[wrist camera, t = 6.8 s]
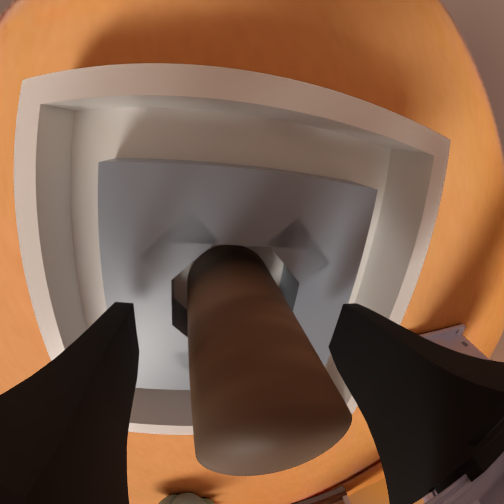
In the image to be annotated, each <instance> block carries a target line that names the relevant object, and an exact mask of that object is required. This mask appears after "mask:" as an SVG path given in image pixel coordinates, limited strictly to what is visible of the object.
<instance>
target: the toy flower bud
mask: <svg viewBox="0 0 504 504" xmlns="http://www.w3.org/2000/svg"><path fill="white" fill-rule="evenodd" d="M159 504H215V503H214V502H213V501H212V500H210V499H207V498H200V497H199V496H197V495H196V494H193V493H182V494H180V495H177V494H173V495H169V496H167V497H165V498H164V499H163V500H162V501H160V503H159Z"/></svg>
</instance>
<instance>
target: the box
mask: <svg viewBox="0 0 504 504" xmlns="http://www.w3.org/2000/svg"><path fill="white" fill-rule="evenodd" d="M449 148H450V139H448V138H446V137H444V136H443V135H441V134H439V133H437V132H435V131H433V130H431V129H429V128H427V127H425V126H423V125H421V124H419V123H417V122H415V121H413V120H411V119H408V118H406V117H404V116H402V115H399V114H397V113H395V112H392V111H390V110H388V109H385V108H383V107H380V106H378V105H375V104H372V103H370V102H367V101H364V100H362V99H359V98H356V97H353V96H350V95H347V94H344V93H341V92H338V91H335V90H331V89H328V88H324V87H321V86H317V85H314V84H310V83H306V82H302V81H298V80H294V79H289V78H285V77H280V76H275V75H270V74H265V73H260V72H254V71H248V70H241V69H234V68H226V67H217V66H207V65H194V64H174V63H136V64H116V65H104V66H94V67H86V68H78V69H72V70H66V71H60V72H54V73H49V74H45V75H40V76H36V77H32V78H28V79H24V80H23V81H22V86H21V92H20V98H19V105H18V112H17V121H16V131H15V146H14V196H15V211H16V222H17V230H18V238H19V245H20V251H21V257H22V263H23V268H24V273H25V277H26V282H27V286H28V290H29V294H30V298H31V302H32V306H33V309H34V313H35V316H36V319H37V323H38V326H39V329H40V332H41V335H42V338H43V340H44V343H45V346H46V349H47V351H48V354H49V356H50V359H51V361H52V360H53V359H55V358H56V357H57V356H58V355H59V354H61V353H62V352H63V351H64V350H65V349H66V348H67V347H68V346H70V345H71V344H72V343H73V342H74V341H75V340H76V339H77V338H79V337H80V336H81V335H82V334H83V333H84V332H85V331H86V330H87V329H88V328H89V327H90V326H91V325H92V324H93V323H94V322H95V321H96V320H97V319H98V318H99V317H100V316H101V315H102V314H103V313H104V312H105V311H106V310H107V309H108V308H109V307H110V306H111V305H112V304H114V303H115V302H126V303H133V304H134V313H135V322H136V330H137V338H138V345H139V351H140V352H139V364H138V376H137V383H136V388H135V393H134V399H133V404H132V410H131V416H130V422H129V429H128V432H138V433H150V434H169V435H194V434H193V423H192V411H191V396H190V379H189V357H188V318H187V281H188V274H189V271H190V269H191V266H192V265H193V263H194V262H195V260H196V259H197V258H198V257H199V256H200V255H201V254H203V253H204V252H205V251H207V250H209V249H211V248H213V247H216V246H220V245H240V246H244V247H247V248H249V249H251V250H252V251H254V252H255V253H257V254H258V255H259V256H260V258H261V259H262V260H263V262H264V263H265V265H266V267H267V269H268V270H269V272H270V274H271V275H272V277H273V279H274V281H275V282H276V284H277V286H278V287H279V289H280V291H281V293H282V294H283V296H284V298H285V299H286V301H287V303H288V305H289V306H290V308H291V310H292V311H293V313H294V315H295V317H296V318H297V320H298V322H299V323H300V325H301V327H302V329H303V330H304V332H305V334H306V335H307V337H308V339H309V341H310V342H311V344H312V346H313V348H314V349H315V351H316V353H317V354H318V356H319V358H320V360H321V361H322V363H323V365H324V367H325V368H326V370H327V372H328V373H329V375H330V377H331V379H332V380H333V382H334V384H335V386H336V387H337V389H338V391H339V393H340V394H341V396H342V398H343V399H344V401H345V403H346V405H347V406H348V408H349V410H350V412H351V414H352V413H353V412H354V411H355V409H356V407H357V406H358V405H357V403H356V402H355V400H354V398H353V396H352V395H351V393H350V391H349V389H348V388H347V386H346V384H345V383H344V381H343V379H342V377H341V375H340V374H339V372H338V370H337V368H336V366H335V363H334V361H333V358H332V355H331V353H330V350H329V347H328V346H329V344H330V341H331V338H332V335H333V333H334V330H335V327H336V324H337V321H338V318H339V315H340V312H341V309H342V306H343V304H351V303H357V304H360V305H362V306H364V307H367V308H369V309H371V310H373V311H375V312H377V313H378V314H380V315H382V316H384V317H386V318H388V319H390V320H391V321H393V322H395V323H397V324H399V325H400V324H401V321H402V319H403V317H404V314H405V312H406V309H407V307H408V305H409V302H410V299H411V297H412V294H413V292H414V289H415V286H416V284H417V281H418V278H419V275H420V272H421V269H422V266H423V263H424V260H425V257H426V254H427V250H428V247H429V244H430V240H431V237H432V233H433V229H434V226H435V222H436V218H437V214H438V209H439V205H440V201H441V196H442V191H443V186H444V181H445V175H446V169H447V163H448V156H449Z"/></svg>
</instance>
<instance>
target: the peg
mask: <svg viewBox="0 0 504 504" xmlns="http://www.w3.org/2000/svg"><path fill="white" fill-rule="evenodd" d="M187 318H188V357H189V379H190V396H191V411H192V423H193V434H194V444H195V454H196V458H197V460H198V462H199V463H200V464H201V465H202V466H204V467H205V468H207V469H209V470H211V471H214V472H217V473H221V474H226V475H234V476H255V475H264V474H270V473H275V472H279V471H283V470H286V469H290V468H293V467H296V466H298V465H301V464H303V463H306V462H308V461H310V460H312V459H314V458H316V457H317V456H319V455H321V454H323V453H324V452H326V451H327V450H329V449H330V448H331V447H333V446H334V445H335V444H336V443H337V442H338V441H339V440H340V439H341V438H342V437H343V436H344V435H345V434H346V432H347V431H348V429H349V427H350V425H351V422H352V414H351V412H350V410H349V408H348V406H347V405H346V403H345V401H344V399H343V398H342V396H341V394H340V393H339V391H338V389H337V387H336V386H335V384H334V382H333V380H332V379H331V377H330V375H329V373H328V372H327V370H326V368H325V367H324V365H323V363H322V361H321V360H320V358H319V356H318V354H317V353H316V351H315V349H314V348H313V346H312V344H311V342H310V341H309V339H308V337H307V335H306V334H305V332H304V330H303V329H302V327H301V325H300V323H299V322H298V320H297V318H296V317H295V315H294V313H293V311H292V310H291V308H290V306H289V305H288V303H287V301H286V299H285V298H284V296H283V294H282V293H281V291H280V289H279V287H278V286H277V284H276V282H275V281H274V279H273V277H272V275H271V274H270V272H269V270H268V269H267V267H266V265H265V263H264V262H263V260H262V259H261V258H260V256H259V255H258V254H257V253H255V252H254V251H252V250H251V249H249V248H247V247H244V246H240V245H220V246H216V247H213V248H211V249H209V250H207V251H205V252H204V253H203V254H201V255H200V256H199V257H198V258H197V259H196V260H195V262H194V263H193V265H192V266H191V269H190V271H189V274H188V281H187Z"/></svg>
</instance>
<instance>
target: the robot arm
mask: <svg viewBox="0 0 504 504" xmlns="http://www.w3.org/2000/svg"><path fill="white" fill-rule="evenodd" d="M464 330H465V325H464V324H460V325H456V326H453V327H449V328H445V329H441V330H437V331H433V332H429V333H425V334H421V335H418V334H416V333H414V332H412V331H410V330H408V329H406V328H404V327H402V326H401V325H399V324H397V323H395V322H393V321H391V320H390V319H388V318H386V317H384V316H382V315H380V314H378V313H377V312H375V311H373V310H371V309H369V308H367V307H364V306H362V305H360V304H357V303H351V304H343V306H342V309H341V312H340V315H339V318H338V321H337V324H336V327H335V330H334V333H333V335H332V338H331V341H330V344H329V346H328V347H329V350H330V353H331V355H332V358H333V361H334V363H335V366H336V368H337V370H338V372H339V374H340V375H341V377H342V379H343V381H344V383H345V384H346V386H347V388H348V389H349V391H350V393H351V395H352V396H353V398H354V400H355V402H356V403H357V405H358V407H359V408H360V410H361V412H362V414H363V416H364V418H365V420H366V422H367V424H368V427H369V429H370V432H371V434H372V437H373V439H374V442H375V445H376V448H377V451H378V453H379V456H380V460H381V463H382V467H383V471H384V474H385V478H386V484H387V489H388V495H389V502H390V504H413V503H415V502H417V501H418V500H420V499H421V498H423V499H424V502H425V504H504V362H496V361H491V360H489V359H488V358H487V357H486V356H485V355H484V354H483V353H482V352H481V351H479V350H478V349H477V348H476V347H475V346H474V345H473V344H472V343H471V342H470V341H469V340H468V339H466V338H465V337H464V336H463V335H462V334H463V332H464ZM139 352H140V351H139V345H138V338H137V330H136V322H135V313H134V304H133V303H126V302H115V303H114V304H112V305H111V306H110V307H109V308H108V309H107V310H106V311H105V312H104V313H103V314H102V315H101V316H100V317H99V318H98V319H97V320H96V321H95V322H94V323H93V324H92V325H91V326H90V327H89V328H88V329H87V330H86V331H85V332H84V333H83V334H82V335H81V336H80V337H79V338H77V339H76V340H75V341H74V342H73V343H72V344H71V345H70V346H68V347H67V348H66V349H65V350H64V351H63V352H62V353H61V354H59V355H58V356H57V357H56V358H55V359H53V360H52V361H51V362H50V363H48V364H47V365H46V366H44V367H43V368H42V369H40V370H39V371H38V372H36V373H35V374H33V375H32V376H31V377H29V378H27V379H26V380H24V381H23V382H21V383H19V384H18V385H16V386H15V387H13V388H11V389H10V390H8V391H6V392H5V393H3V394H1V395H0V504H129V498H128V485H127V437H128V429H129V422H130V416H131V410H132V404H133V399H134V393H135V388H136V383H137V376H138V364H139Z"/></svg>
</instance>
